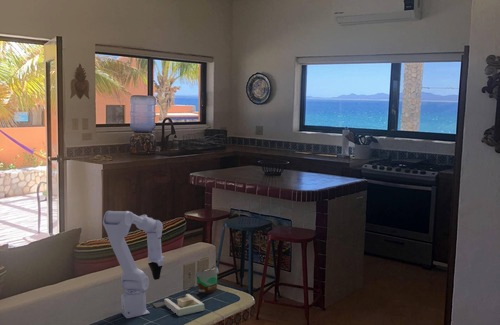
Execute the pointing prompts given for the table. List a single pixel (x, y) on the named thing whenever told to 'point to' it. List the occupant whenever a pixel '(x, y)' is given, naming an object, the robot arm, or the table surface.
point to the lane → (185, 310)
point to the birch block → (185, 302)
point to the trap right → (195, 296)
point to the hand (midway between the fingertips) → (156, 279)
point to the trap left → (159, 304)
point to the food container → (207, 280)
